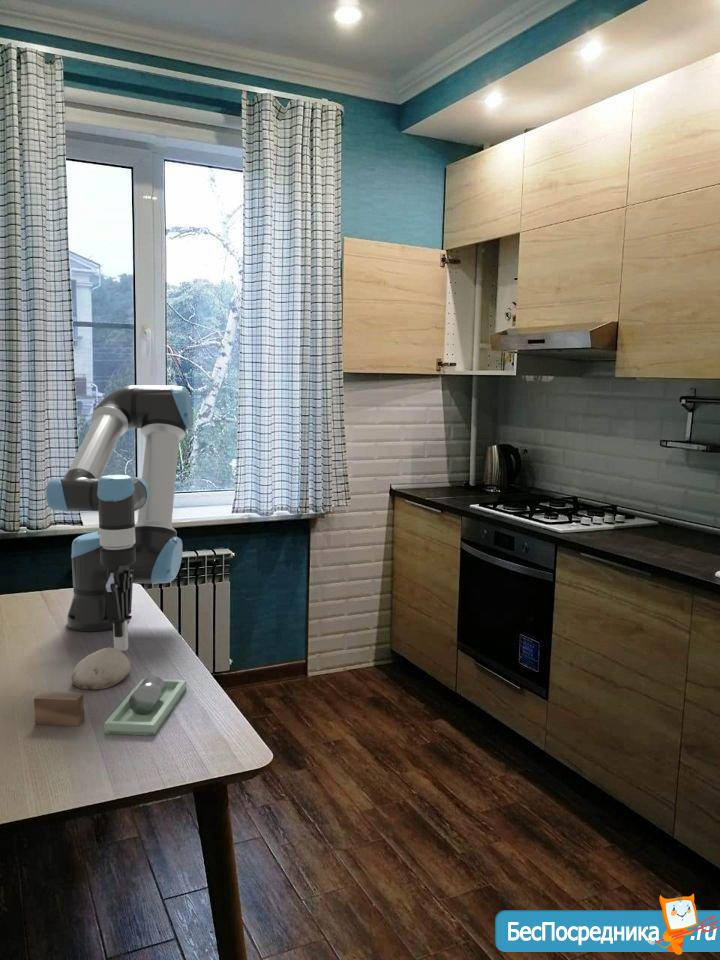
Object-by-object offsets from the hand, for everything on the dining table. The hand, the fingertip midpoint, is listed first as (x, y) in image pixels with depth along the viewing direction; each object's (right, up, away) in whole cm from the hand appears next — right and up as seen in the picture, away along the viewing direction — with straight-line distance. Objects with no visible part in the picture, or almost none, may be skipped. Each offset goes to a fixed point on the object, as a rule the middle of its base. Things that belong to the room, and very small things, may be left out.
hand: (121, 649), depth 172 cm
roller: (+13, -6, -25) cm, 29 cm away
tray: (+13, -6, -25) cm, 29 cm away
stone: (-1, -4, -10) cm, 11 cm away
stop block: (-2, -7, -30) cm, 31 cm away
